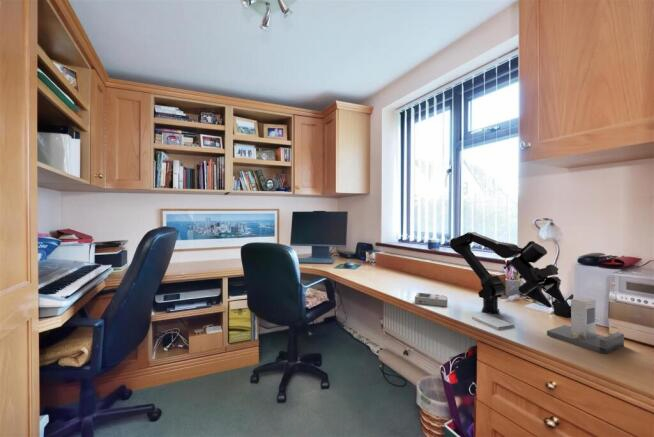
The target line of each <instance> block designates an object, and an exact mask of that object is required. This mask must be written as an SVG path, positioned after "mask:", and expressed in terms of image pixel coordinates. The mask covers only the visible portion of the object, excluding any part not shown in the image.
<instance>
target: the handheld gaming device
mask: <svg viewBox="0 0 654 437" xmlns="http://www.w3.org/2000/svg"><path fill="white" fill-rule="evenodd" d="M414 303H415V304H420V303H421V305H430V306H440V307H448V296H446V295H441V294H434V293H426V292H417V293H416V294H415V295H414Z"/></svg>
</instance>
